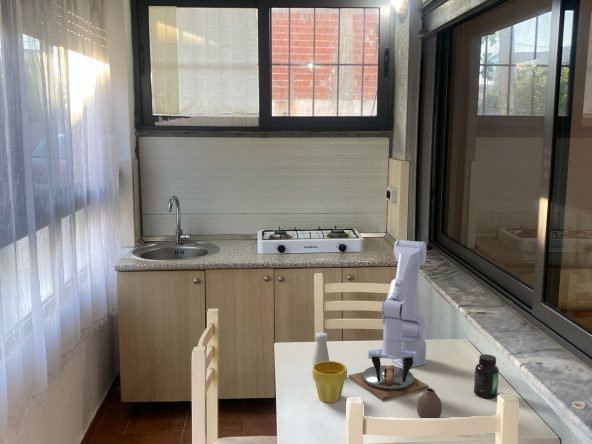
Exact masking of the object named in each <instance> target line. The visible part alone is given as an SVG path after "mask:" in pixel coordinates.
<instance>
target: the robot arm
mask: <svg viewBox="0 0 592 444" xmlns="http://www.w3.org/2000/svg"><path fill="white" fill-rule="evenodd" d="M393 256H394V257H395V261H396V262H397V266H396V267H397V268H396V275H395V278H394V279H392V280H391V282H390V285H389V288H388V293H387V295H386V300H383V302H382V306H381V317H382V324H383V332H382V333H383V335H382V336H383V337H382V338H383V339H382V349H379V348H378V349H372V350H370V349H368V350H367V357H368V360H369V359H370V360H371V363H372V364H373V366H374V367H375V370H376V373H377V381H378V382H380V366H381V364H382V363H381V359H390V360H391V362H393V363H395V364H397V365H398V366H400V367H401V368H403V371H402V381H403V382H405V380H406V377H407V374H408V372H410V369H411V368H414V367H418V366H423V365H427V364H428V362H427V360H426V356H427V344H426V340H425V338H424V335H425V330H426V329H425V327H426V326H425V317H424V316H423V314H421V313H420V311H418V310H417V306H418V305H417V304H418V303H417V302H418V291H419V289H418V288H419V286H418V285H419V272H420V271H419V270H420V266H421V265H425V264H426V260H427V243H426V242H425V241H415V240H413V241H412V240H404V239H396V241H395V242H394V247H393Z"/></svg>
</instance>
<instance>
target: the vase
mask: <svg viewBox="0 0 592 444" xmlns="http://www.w3.org/2000/svg"><path fill="white" fill-rule="evenodd" d="M442 412H443V405H442V401H441V399H440V397H439V395H438V394H437V393H436V391H435V389H434V388H431V387H429V388H427V389H425V390H424V392H422V394H421V395H420V396H419V397H418V399H417V402H416V413H417V415H418V417H419V419H421V418H439V419H440V417H441V416H442Z"/></svg>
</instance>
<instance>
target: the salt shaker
mask: <svg viewBox="0 0 592 444" xmlns="http://www.w3.org/2000/svg"><path fill="white" fill-rule="evenodd" d="M314 338H315V339H314V340H315V341H316V345H315V350H314V354H313V355H314V356H313V360H312V367H313V366H314V365H315V364H316V363H318V362H322V361H330V358H329V357H330V356H329V349H328V345H327V344H328V343H327V342H328V340H329V334H328V333H326V332H322V331H320V332H317V333H316V334H315V336H314Z"/></svg>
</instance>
